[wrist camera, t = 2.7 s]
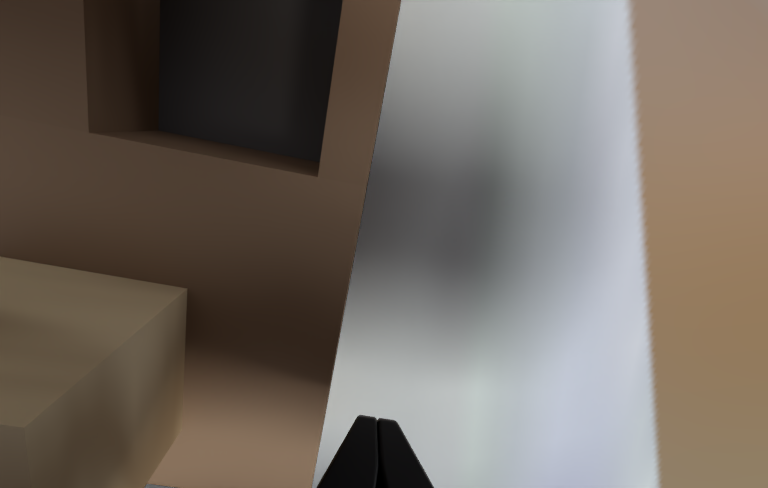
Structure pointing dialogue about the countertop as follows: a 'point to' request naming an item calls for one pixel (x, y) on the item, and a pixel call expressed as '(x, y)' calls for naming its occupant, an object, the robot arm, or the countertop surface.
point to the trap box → (205, 192)
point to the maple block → (87, 376)
